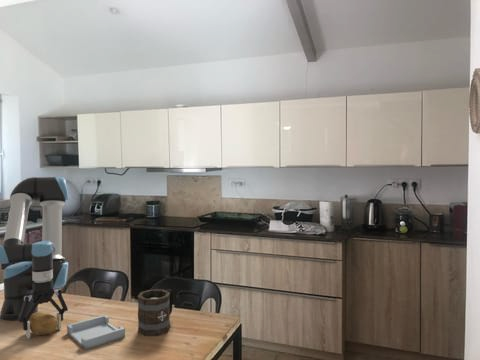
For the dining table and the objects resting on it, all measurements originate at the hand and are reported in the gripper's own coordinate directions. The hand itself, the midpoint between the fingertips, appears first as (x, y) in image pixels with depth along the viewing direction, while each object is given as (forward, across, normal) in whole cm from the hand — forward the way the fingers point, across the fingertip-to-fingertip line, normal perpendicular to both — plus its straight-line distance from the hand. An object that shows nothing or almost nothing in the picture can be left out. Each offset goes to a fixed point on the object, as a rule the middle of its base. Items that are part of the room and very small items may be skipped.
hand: (44, 333), depth 160 cm
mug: (0, +38, -26) cm, 46 cm away
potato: (0, 0, 0) cm, 0 cm away
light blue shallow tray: (0, +15, -16) cm, 22 cm away
